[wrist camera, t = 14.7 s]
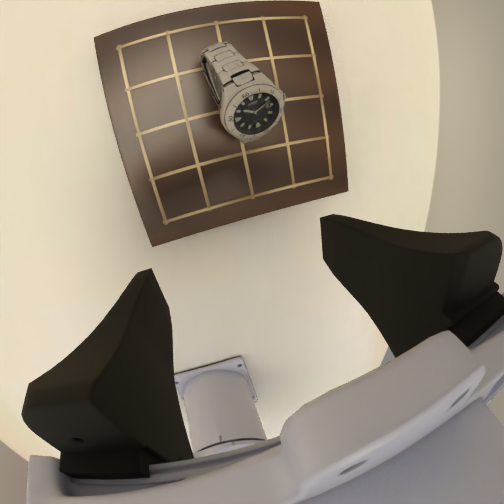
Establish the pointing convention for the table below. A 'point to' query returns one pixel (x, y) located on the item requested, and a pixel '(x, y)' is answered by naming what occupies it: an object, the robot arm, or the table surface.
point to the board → (208, 115)
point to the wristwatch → (241, 92)
